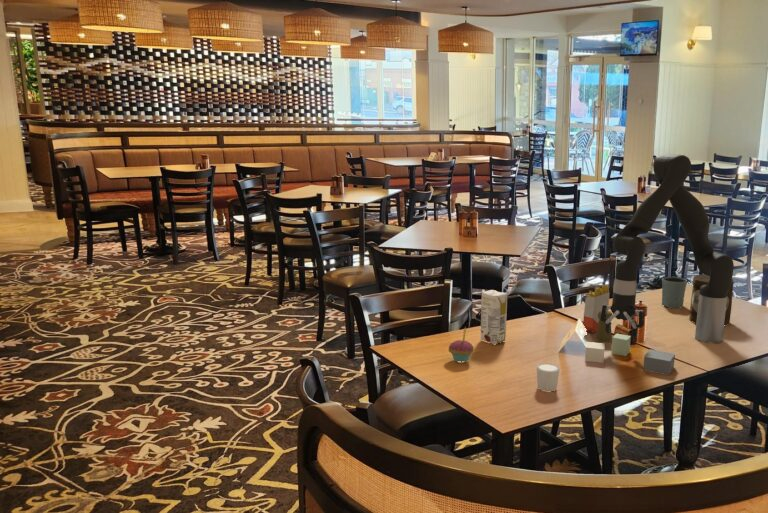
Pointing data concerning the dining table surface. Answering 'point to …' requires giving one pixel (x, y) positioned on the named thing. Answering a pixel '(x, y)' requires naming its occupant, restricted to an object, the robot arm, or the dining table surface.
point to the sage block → (621, 344)
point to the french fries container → (595, 307)
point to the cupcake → (461, 349)
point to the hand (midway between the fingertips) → (620, 335)
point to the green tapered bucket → (673, 291)
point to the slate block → (659, 362)
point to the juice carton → (493, 316)
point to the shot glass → (547, 376)
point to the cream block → (594, 352)
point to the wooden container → (697, 283)
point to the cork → (603, 329)
